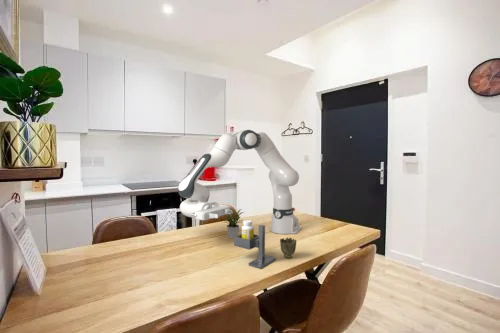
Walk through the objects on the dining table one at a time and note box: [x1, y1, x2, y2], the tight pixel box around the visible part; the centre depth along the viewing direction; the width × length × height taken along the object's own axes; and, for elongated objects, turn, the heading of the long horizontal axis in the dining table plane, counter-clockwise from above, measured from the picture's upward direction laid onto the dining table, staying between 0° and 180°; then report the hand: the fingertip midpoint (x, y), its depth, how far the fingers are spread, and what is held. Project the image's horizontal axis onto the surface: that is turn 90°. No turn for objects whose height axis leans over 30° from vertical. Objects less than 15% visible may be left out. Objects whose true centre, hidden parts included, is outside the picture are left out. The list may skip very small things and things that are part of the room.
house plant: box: [223, 208, 244, 239], centre depth 153 cm, size 14×14×16 cm
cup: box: [279, 237, 298, 259], centre depth 122 cm, size 8×7×8 cm
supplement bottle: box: [241, 219, 255, 240], centre depth 120 cm, size 5×5×10 cm
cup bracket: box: [233, 224, 277, 270], centre depth 118 cm, size 12×15×16 cm
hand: (225, 214), depth 130 cm, fingers open, 8 cm apart
